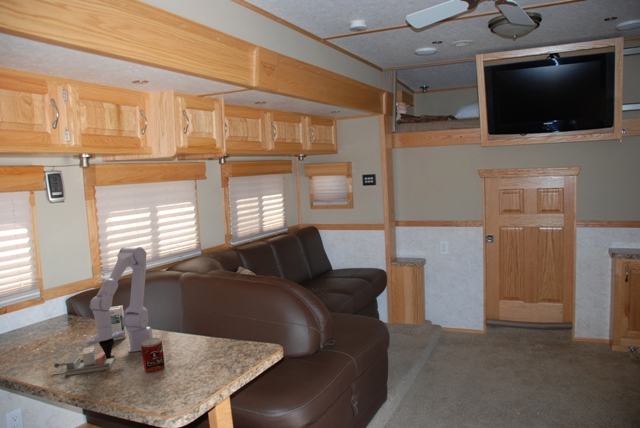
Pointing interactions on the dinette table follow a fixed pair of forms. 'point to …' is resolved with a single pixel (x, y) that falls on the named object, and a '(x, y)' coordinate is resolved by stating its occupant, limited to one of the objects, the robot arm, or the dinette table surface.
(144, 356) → the canned food
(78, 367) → the vise base
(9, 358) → the dinette table surface
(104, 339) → the robot arm
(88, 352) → the aluminium block
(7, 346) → the dinette table surface
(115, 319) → the syrup box
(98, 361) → the block
